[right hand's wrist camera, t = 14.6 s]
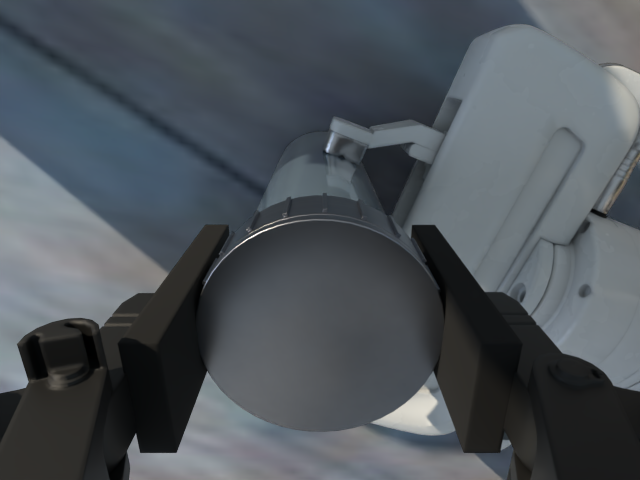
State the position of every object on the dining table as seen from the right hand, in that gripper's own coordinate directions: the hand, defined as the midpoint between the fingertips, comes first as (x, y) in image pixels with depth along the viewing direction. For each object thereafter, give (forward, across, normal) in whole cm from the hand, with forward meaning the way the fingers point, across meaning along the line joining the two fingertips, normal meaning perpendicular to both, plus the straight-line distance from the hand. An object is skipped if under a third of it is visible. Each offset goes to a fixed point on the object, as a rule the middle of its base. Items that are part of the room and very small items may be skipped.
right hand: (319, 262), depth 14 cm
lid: (-4, 0, 0) cm, 4 cm away
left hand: (+7, -1, 0) cm, 7 cm away
